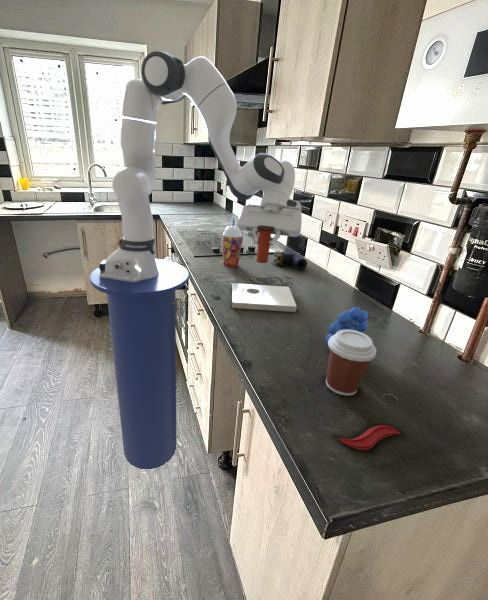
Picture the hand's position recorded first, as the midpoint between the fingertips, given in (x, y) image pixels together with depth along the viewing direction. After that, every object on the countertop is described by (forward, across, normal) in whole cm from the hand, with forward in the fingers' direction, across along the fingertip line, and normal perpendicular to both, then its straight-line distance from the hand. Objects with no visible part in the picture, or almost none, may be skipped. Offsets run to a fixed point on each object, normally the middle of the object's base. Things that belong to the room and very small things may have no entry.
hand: (263, 243), depth 100 cm
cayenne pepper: (+48, +33, -21) cm, 62 cm away
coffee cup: (+39, +28, -11) cm, 49 cm away
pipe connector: (-16, +3, +43) cm, 46 cm away
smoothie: (-6, -19, +34) cm, 39 cm away
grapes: (+28, +27, 0) cm, 39 cm away
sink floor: (+13, +1, +14) cm, 19 cm away
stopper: (+4, 0, +5) cm, 6 cm away
